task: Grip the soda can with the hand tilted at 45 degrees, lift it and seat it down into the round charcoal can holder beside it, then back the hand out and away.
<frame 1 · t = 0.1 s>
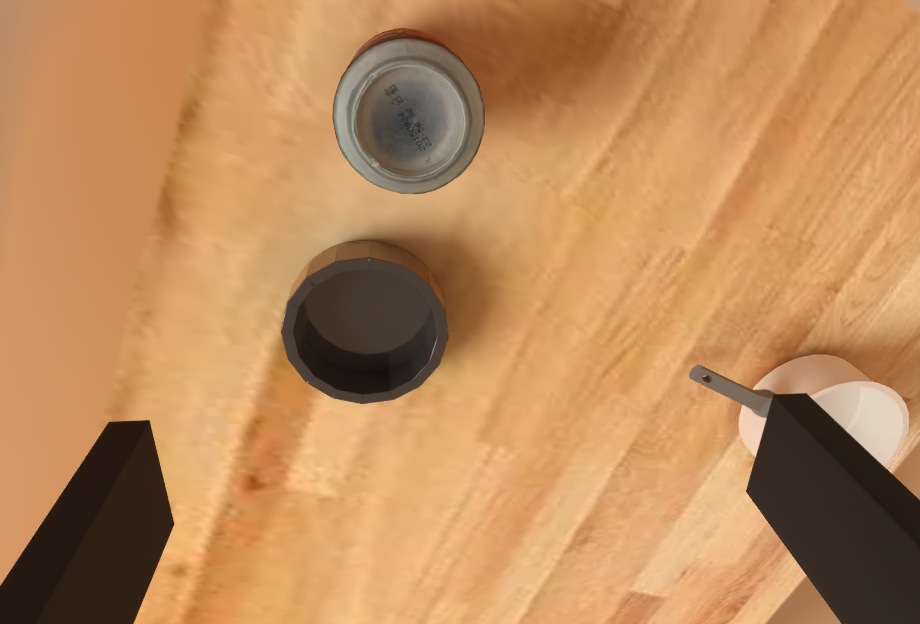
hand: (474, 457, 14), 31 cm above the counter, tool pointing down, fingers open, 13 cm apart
saucepan: (757, 383, 53), on the counter
holder: (367, 312, 46), on the counter
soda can: (404, 88, 40), on the counter
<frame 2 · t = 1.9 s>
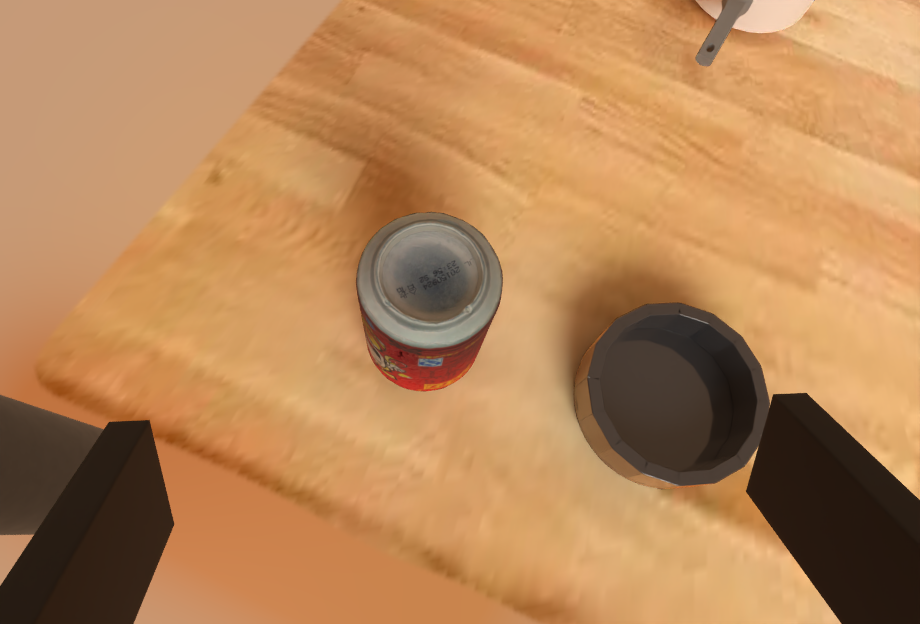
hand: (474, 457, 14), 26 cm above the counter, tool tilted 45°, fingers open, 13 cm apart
saucepan: (721, 24, 52), on the counter
holder: (657, 400, 41), on the counter
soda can: (422, 344, 41), on the counter
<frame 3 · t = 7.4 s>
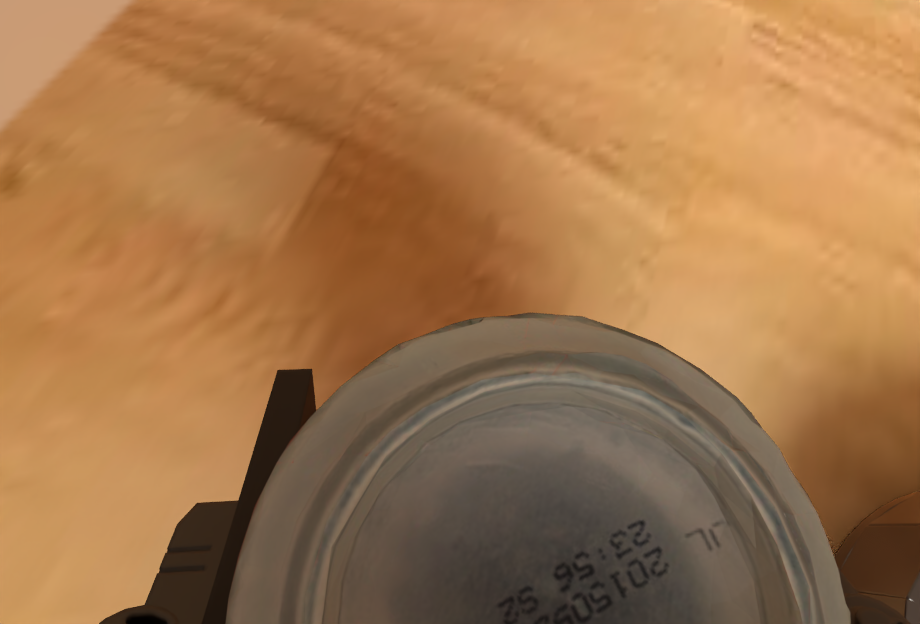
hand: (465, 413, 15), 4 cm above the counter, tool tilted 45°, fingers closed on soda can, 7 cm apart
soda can: (459, 561, 18), on the counter, touching gripper
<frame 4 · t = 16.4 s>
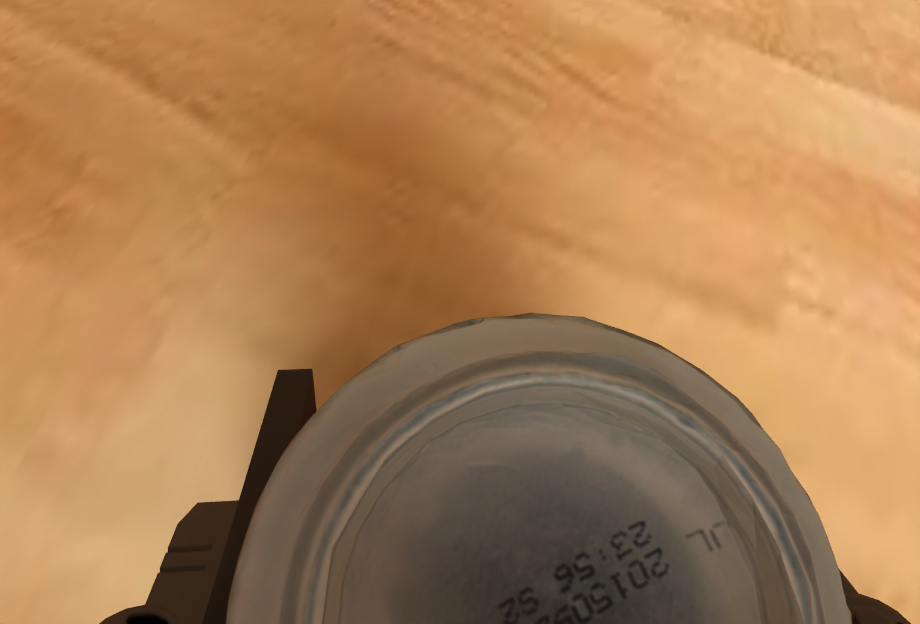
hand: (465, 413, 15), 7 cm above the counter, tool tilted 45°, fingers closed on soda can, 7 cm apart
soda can: (459, 562, 18), point 3 cm above the counter, touching gripper
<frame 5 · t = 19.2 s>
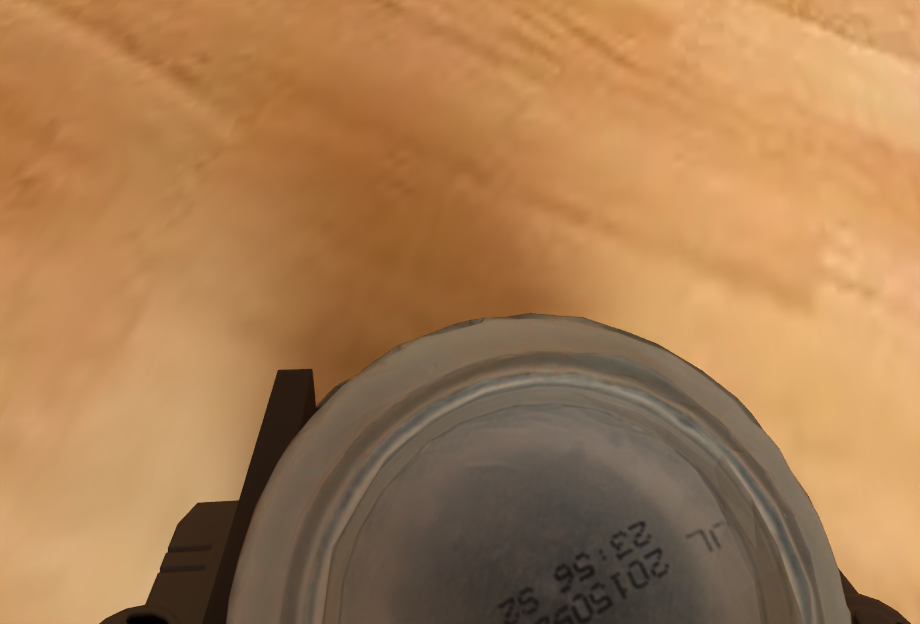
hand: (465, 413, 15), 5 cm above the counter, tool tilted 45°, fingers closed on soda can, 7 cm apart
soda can: (459, 562, 18), point 1 cm above the counter, touching gripper
when the fingers open (7 cm above the counter, at t = 25.7 s): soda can drops 2 cm, resting on holder.
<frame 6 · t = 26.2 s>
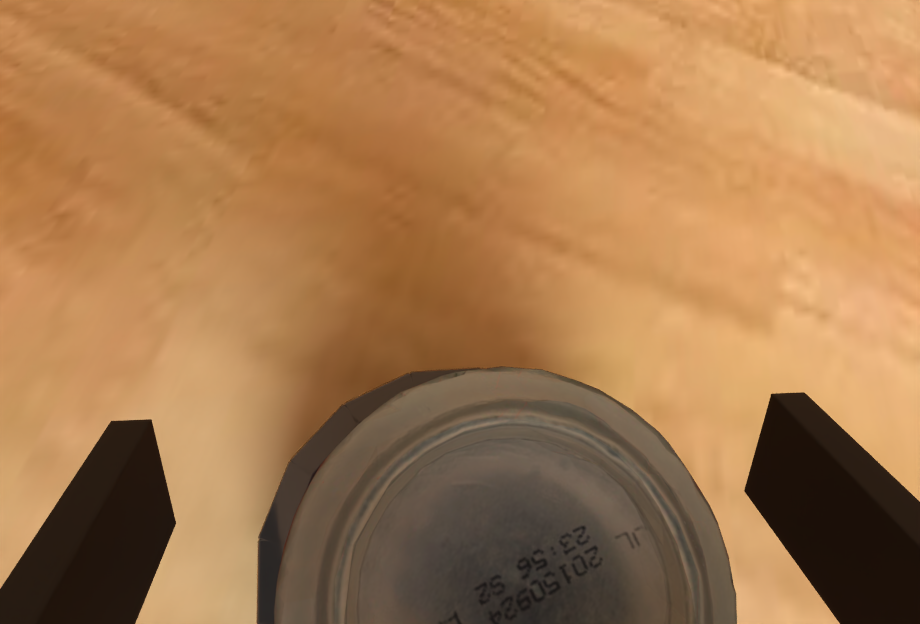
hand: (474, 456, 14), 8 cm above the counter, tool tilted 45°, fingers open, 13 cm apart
holder: (451, 557, 21), on the counter
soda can: (454, 559, 20), resting on holder
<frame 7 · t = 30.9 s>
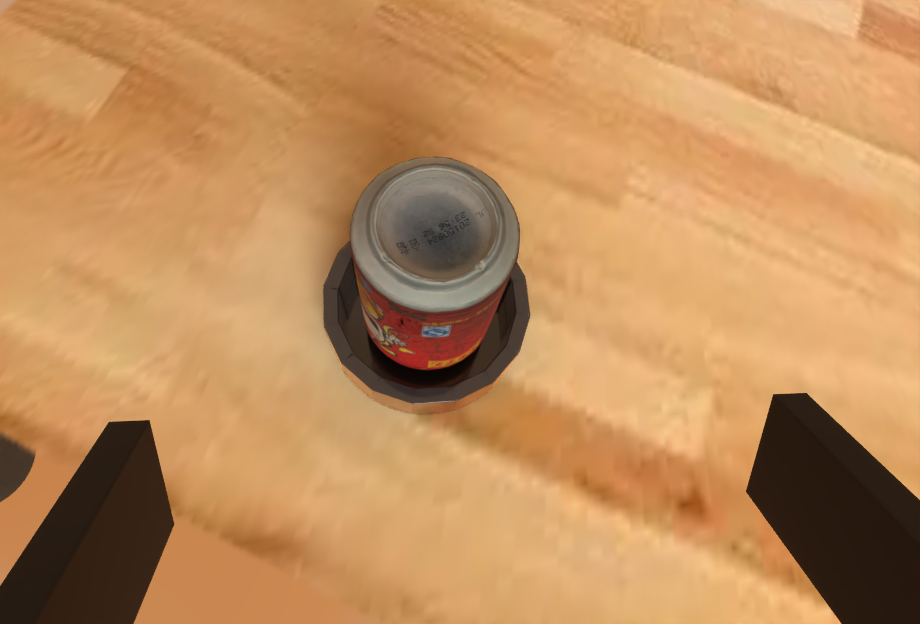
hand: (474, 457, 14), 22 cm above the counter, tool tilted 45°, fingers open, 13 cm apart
holder: (425, 321, 37), on the counter
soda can: (426, 319, 37), resting on holder
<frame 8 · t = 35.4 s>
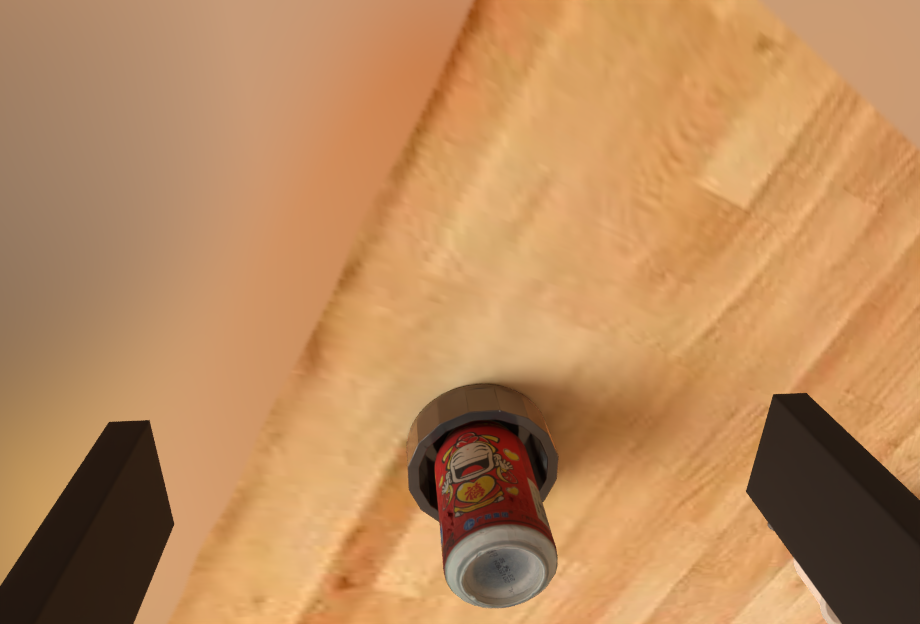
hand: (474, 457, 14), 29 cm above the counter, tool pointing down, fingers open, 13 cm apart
saucepan: (813, 518, 57), on the counter
holder: (477, 443, 49), on the counter
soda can: (477, 447, 49), resting on holder
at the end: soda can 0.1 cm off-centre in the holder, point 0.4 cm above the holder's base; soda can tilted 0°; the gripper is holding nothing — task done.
